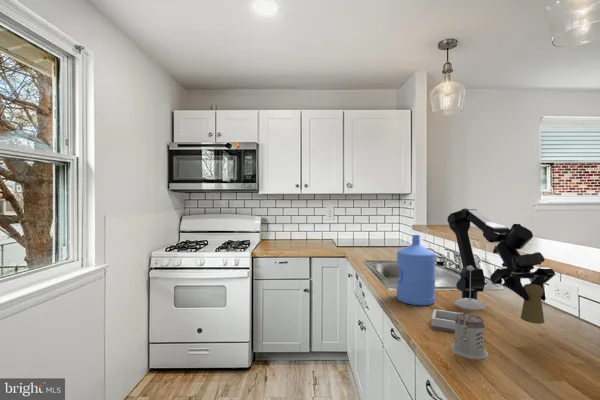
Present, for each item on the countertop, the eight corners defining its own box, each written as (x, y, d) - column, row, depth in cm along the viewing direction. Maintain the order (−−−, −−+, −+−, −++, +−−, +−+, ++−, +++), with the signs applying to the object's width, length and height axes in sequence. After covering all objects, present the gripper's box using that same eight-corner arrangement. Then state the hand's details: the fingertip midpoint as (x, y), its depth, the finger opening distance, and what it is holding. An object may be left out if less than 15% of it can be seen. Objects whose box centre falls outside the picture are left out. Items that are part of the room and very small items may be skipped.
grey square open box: (433, 318, 120) (433, 309, 120) (464, 323, 116) (464, 313, 116) (431, 328, 112) (431, 318, 111) (464, 334, 107) (464, 323, 107)
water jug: (440, 299, 142) (441, 235, 141) (425, 309, 130) (426, 238, 130) (406, 292, 153) (407, 232, 152) (390, 300, 141) (390, 235, 141)
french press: (493, 351, 96) (494, 265, 95) (480, 365, 87) (481, 272, 87) (458, 340, 103) (459, 260, 102) (442, 352, 94) (443, 266, 94)
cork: (521, 314, 106) (522, 281, 106) (544, 319, 103) (545, 284, 102) (519, 320, 102) (520, 285, 101) (543, 325, 98) (544, 288, 98)
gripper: (496, 243, 105) (521, 287, 94) (551, 243, 106) (582, 286, 96) (480, 262, 113) (502, 305, 102) (531, 261, 114) (558, 304, 104)
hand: (536, 300), depth 101 cm, fingers closed on cork, 5 cm apart
